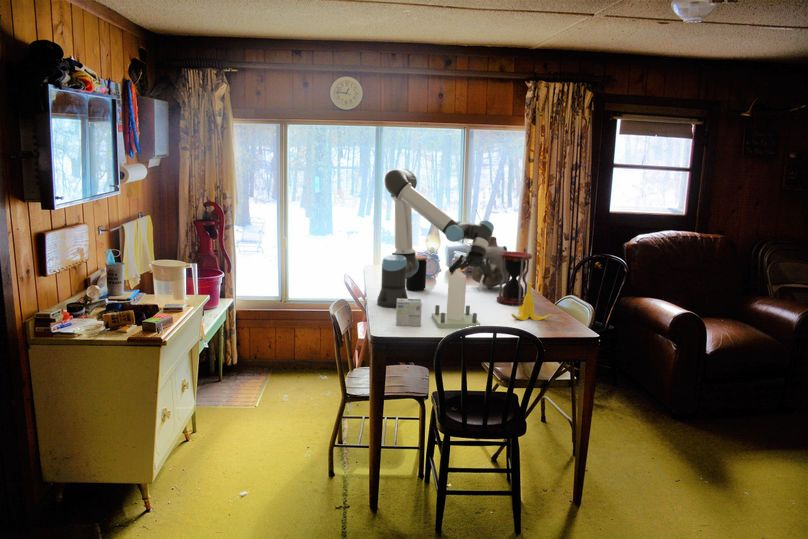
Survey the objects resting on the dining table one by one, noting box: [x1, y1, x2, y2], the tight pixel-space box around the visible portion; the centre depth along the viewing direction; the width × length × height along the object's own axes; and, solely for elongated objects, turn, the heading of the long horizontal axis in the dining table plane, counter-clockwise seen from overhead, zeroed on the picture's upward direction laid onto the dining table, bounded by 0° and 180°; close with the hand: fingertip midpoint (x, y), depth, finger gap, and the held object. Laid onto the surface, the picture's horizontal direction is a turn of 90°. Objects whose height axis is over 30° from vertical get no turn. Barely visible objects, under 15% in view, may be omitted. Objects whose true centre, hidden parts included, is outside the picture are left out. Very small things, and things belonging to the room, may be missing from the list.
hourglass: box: [496, 250, 533, 307], centre depth 323 cm, size 16×16×25 cm
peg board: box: [431, 304, 481, 329], centre depth 279 cm, size 18×18×6 cm
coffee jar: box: [405, 254, 428, 292], centre depth 345 cm, size 11×11×18 cm
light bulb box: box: [395, 298, 423, 327], centre depth 273 cm, size 11×7×11 cm, turn 92°
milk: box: [446, 268, 467, 321], centre depth 277 cm, size 6×6×22 cm
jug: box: [471, 235, 508, 289], centre depth 355 cm, size 24×21×30 cm
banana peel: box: [510, 282, 552, 321], centre depth 291 cm, size 16×19×17 cm
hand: (465, 286), depth 286 cm, fingers open, 13 cm apart
